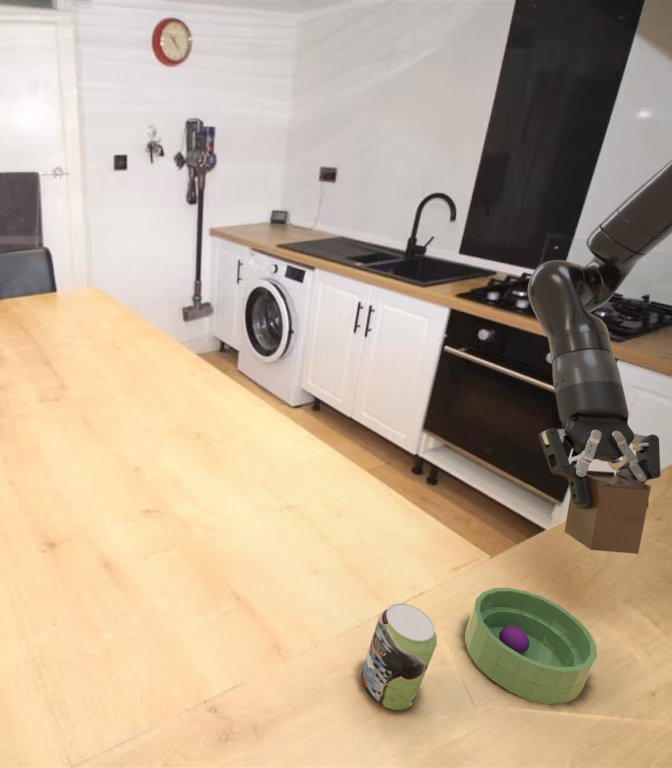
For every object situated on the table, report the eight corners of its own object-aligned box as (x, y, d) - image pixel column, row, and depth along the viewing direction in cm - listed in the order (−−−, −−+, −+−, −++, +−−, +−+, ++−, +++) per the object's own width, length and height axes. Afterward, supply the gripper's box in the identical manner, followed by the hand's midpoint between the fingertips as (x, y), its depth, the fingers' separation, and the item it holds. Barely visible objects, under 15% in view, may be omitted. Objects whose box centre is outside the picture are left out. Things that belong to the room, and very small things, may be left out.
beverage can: (373, 662, 68) (382, 584, 64) (435, 698, 63) (448, 614, 59) (349, 694, 64) (357, 611, 60) (413, 734, 59) (426, 647, 55)
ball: (530, 662, 66) (500, 656, 68) (530, 641, 69) (500, 635, 71) (528, 644, 65) (497, 638, 67) (528, 622, 68) (498, 618, 69)
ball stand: (564, 531, 75) (574, 469, 73) (608, 535, 74) (619, 472, 73) (590, 550, 69) (602, 483, 68) (638, 554, 68) (651, 486, 67)
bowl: (534, 620, 73) (546, 586, 71) (606, 706, 62) (625, 669, 60) (445, 622, 73) (455, 588, 71) (502, 710, 62) (516, 673, 59)
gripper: (548, 375, 73) (569, 500, 67) (664, 382, 71) (697, 511, 65) (518, 394, 80) (535, 509, 74) (624, 401, 78) (650, 519, 72)
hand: (611, 509), depth 70 cm, fingers closed on ball stand, 5 cm apart
